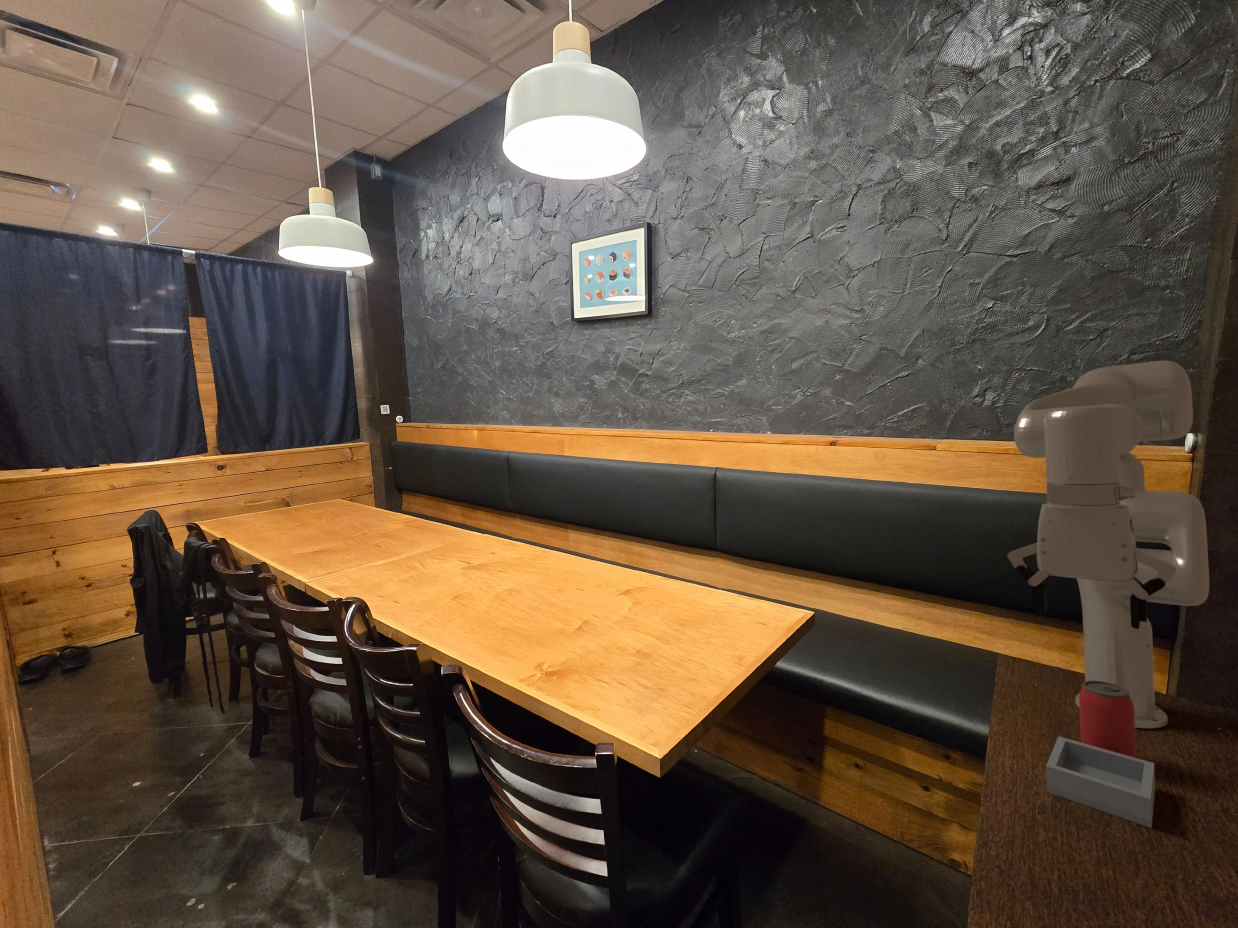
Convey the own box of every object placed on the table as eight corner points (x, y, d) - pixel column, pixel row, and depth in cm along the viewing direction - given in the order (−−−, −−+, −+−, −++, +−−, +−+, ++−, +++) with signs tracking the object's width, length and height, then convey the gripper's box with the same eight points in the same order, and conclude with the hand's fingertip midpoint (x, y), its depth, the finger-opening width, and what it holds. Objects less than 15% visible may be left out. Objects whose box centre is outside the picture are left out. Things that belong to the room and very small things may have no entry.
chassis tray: (1059, 760, 86) (1058, 736, 86) (1155, 789, 78) (1154, 762, 77) (1047, 791, 78) (1046, 765, 78) (1151, 828, 70) (1150, 798, 70)
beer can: (1148, 774, 81) (1145, 697, 81) (1098, 771, 82) (1095, 696, 82) (1116, 750, 88) (1114, 679, 87) (1071, 747, 89) (1069, 678, 89)
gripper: (1174, 494, 68) (1178, 624, 68) (1011, 492, 81) (1015, 601, 81) (1173, 500, 63) (1178, 640, 63) (999, 497, 76) (1004, 613, 76)
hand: (1087, 618), depth 72 cm, fingers open, 9 cm apart
